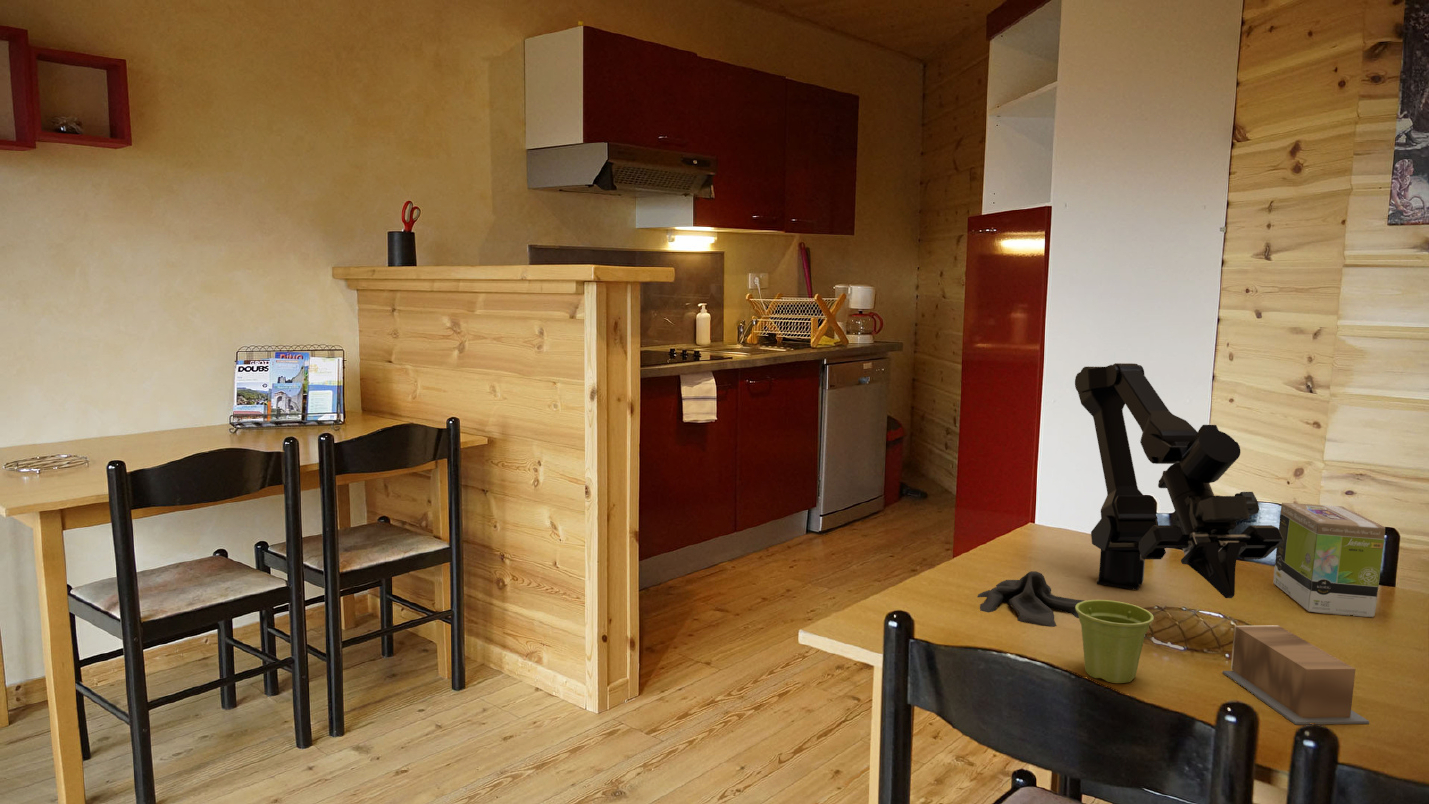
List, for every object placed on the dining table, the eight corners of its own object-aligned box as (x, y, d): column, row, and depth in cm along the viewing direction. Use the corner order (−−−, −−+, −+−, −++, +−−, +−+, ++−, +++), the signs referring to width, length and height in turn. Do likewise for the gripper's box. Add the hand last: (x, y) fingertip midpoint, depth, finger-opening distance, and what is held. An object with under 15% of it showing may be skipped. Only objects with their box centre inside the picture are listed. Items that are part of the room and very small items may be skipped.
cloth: (1023, 580, 163) (1025, 546, 163) (1118, 613, 148) (1121, 575, 147) (931, 603, 152) (932, 566, 151) (1024, 641, 136) (1026, 600, 135)
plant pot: (1059, 660, 128) (1063, 599, 126) (1125, 659, 128) (1129, 598, 127) (1092, 690, 118) (1096, 624, 117) (1163, 689, 119) (1168, 623, 118)
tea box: (1378, 619, 146) (1388, 526, 144) (1306, 613, 148) (1316, 522, 146) (1335, 588, 160) (1344, 503, 158) (1270, 583, 162) (1278, 500, 160)
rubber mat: (1222, 673, 124) (1222, 670, 124) (1287, 672, 125) (1288, 670, 125) (1295, 724, 110) (1295, 722, 110) (1369, 723, 110) (1369, 721, 110)
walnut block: (1234, 625, 124) (1306, 669, 110) (1278, 625, 124) (1355, 668, 111) (1230, 668, 125) (1301, 717, 111) (1274, 668, 125) (1350, 717, 111)
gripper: (1155, 470, 132) (1191, 571, 123) (1282, 470, 133) (1328, 571, 124) (1123, 509, 141) (1155, 606, 132) (1243, 510, 142) (1283, 606, 133)
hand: (1230, 597), depth 130 cm, fingers closed
